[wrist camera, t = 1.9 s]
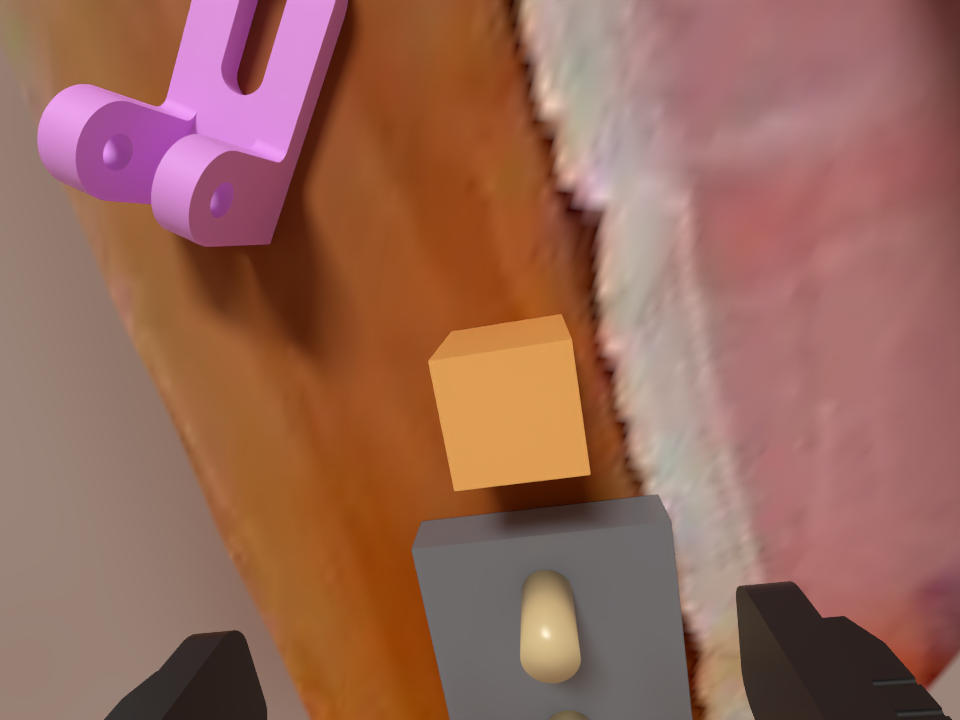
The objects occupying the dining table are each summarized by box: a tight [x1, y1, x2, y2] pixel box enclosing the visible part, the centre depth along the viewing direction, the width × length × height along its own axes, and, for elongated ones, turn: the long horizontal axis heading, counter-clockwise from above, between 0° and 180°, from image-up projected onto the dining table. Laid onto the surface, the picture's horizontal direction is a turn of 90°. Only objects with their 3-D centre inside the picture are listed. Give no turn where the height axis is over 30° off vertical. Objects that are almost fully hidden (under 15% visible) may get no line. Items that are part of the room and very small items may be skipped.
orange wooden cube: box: [428, 314, 591, 491], centre depth 22 cm, size 5×5×6 cm
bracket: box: [37, 0, 348, 247], centre depth 20 cm, size 13×6×7 cm, turn 156°
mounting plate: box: [411, 495, 692, 720], centre depth 25 cm, size 12×14×6 cm
